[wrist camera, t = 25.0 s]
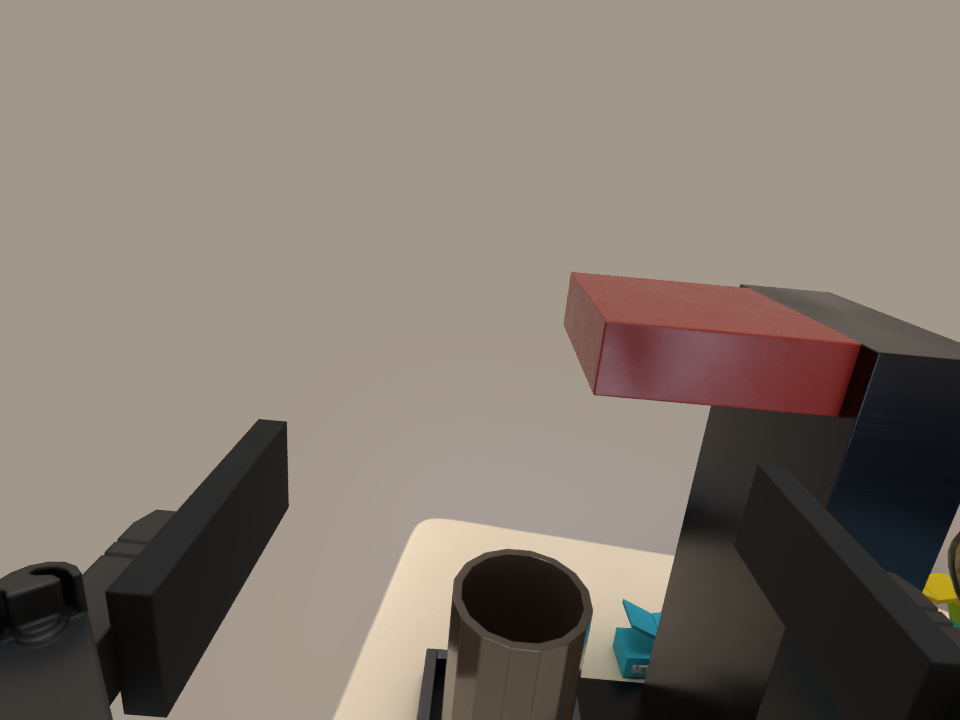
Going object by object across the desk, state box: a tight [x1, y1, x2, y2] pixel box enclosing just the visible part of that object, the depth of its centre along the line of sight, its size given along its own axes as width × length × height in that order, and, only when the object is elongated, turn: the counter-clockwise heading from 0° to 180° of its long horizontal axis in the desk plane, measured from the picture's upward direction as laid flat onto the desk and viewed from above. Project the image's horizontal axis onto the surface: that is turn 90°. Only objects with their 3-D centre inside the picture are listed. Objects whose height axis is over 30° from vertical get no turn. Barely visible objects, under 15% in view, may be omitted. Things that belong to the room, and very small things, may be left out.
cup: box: [441, 549, 593, 720], centre depth 33 cm, size 8×8×13 cm
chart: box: [613, 573, 960, 678], centre depth 43 cm, size 30×3×15 cm, turn 92°
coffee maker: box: [417, 272, 960, 720], centre depth 31 cm, size 21×14×31 cm, turn 89°
